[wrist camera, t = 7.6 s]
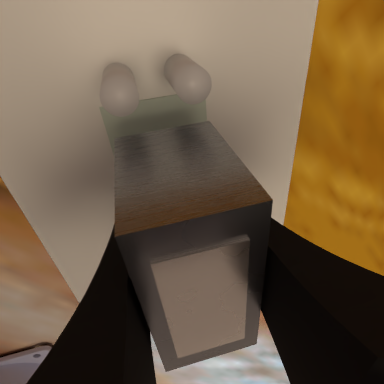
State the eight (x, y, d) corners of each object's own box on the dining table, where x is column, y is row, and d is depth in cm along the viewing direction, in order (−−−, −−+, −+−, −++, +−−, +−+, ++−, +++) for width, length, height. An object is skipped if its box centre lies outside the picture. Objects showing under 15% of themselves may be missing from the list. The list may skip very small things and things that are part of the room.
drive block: (151, 265, 14) (166, 375, 10) (114, 138, 9) (114, 240, 5) (216, 248, 14) (257, 347, 10) (209, 120, 10) (275, 202, 6)
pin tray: (80, 289, 18) (74, 341, 15) (-91, -3, 8) (-189, -5, 6) (272, 240, 20) (298, 279, 17) (309, -42, 10) (381, -60, 8)
